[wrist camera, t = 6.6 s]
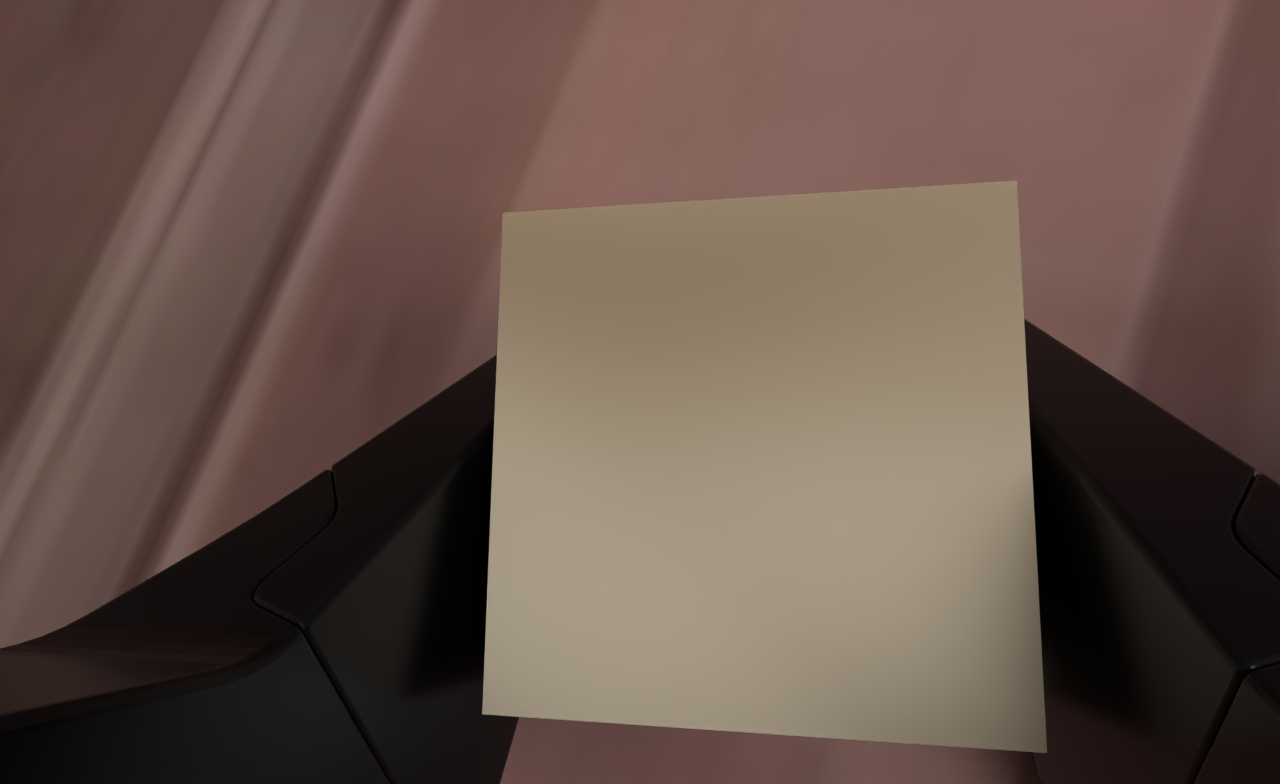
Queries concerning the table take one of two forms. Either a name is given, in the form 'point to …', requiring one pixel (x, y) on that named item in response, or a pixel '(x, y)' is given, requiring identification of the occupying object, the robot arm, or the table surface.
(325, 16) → the table surface
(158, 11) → the table surface
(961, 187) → the handle block
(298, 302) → the table surface
